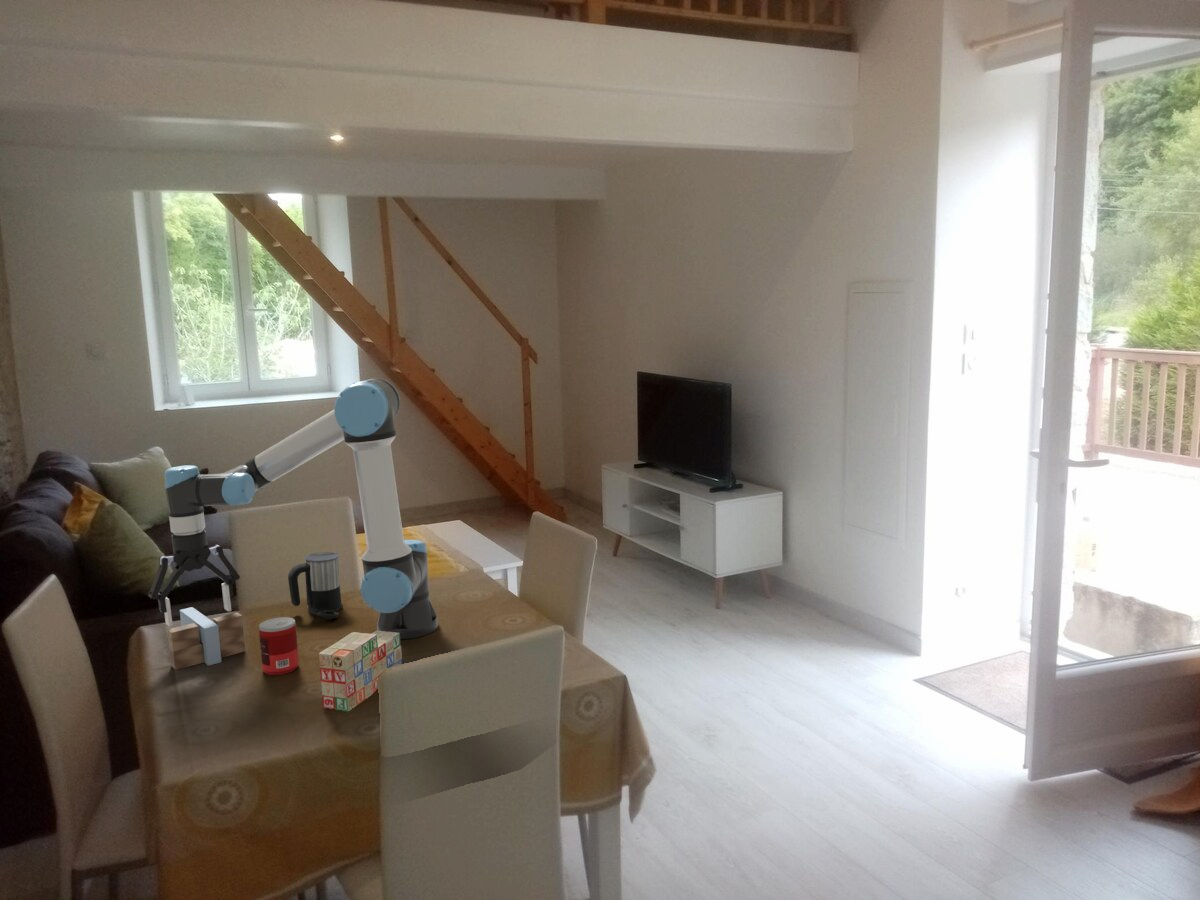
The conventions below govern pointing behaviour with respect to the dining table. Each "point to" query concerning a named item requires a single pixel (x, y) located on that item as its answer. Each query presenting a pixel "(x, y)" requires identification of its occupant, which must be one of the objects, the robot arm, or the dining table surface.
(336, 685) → the stack of blocks
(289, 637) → the canned food
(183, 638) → the light brown wooden block
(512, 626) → the dining table surface
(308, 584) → the milk frother
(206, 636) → the pale blue flat block
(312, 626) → the dining table surface
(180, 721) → the dining table surface
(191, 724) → the dining table surface
